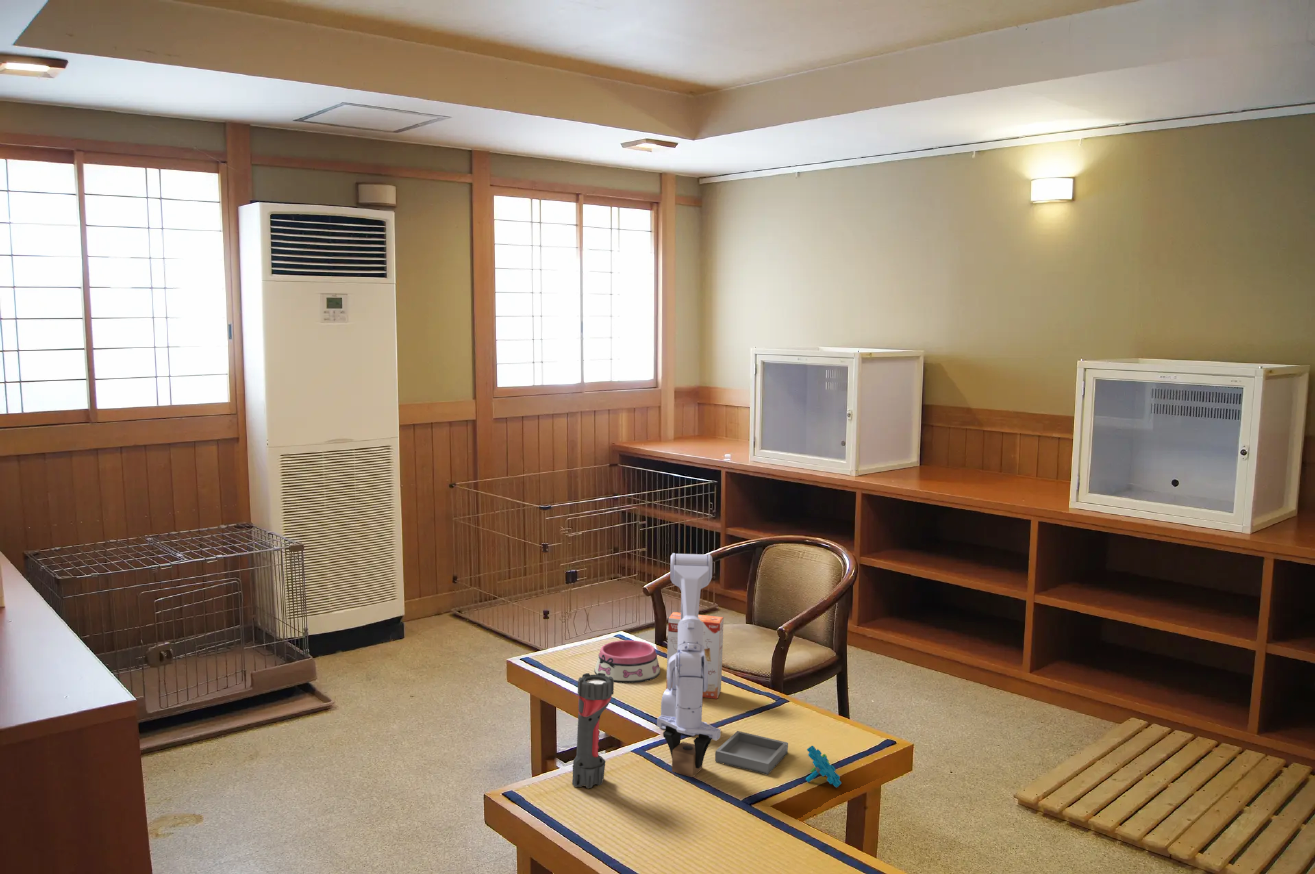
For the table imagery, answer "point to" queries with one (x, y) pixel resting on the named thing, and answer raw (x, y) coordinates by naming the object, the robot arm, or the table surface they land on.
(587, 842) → the table surface
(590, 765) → the flashlight
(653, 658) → the dog bowl
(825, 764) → the gear
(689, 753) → the walnut block
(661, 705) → the robot arm
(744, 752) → the tray
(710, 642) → the cracker box
